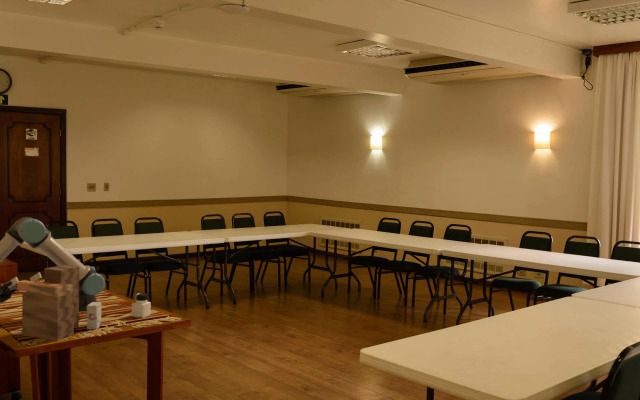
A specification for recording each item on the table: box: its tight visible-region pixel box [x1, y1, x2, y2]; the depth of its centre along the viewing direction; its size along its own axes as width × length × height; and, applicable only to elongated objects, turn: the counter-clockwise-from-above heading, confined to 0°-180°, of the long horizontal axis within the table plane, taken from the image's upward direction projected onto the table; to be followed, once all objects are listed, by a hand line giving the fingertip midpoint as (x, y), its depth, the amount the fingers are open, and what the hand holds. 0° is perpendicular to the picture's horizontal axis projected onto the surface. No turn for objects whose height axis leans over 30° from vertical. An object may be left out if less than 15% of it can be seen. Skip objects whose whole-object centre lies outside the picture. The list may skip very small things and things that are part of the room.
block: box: [17, 279, 64, 292], centre depth 287 cm, size 4×24×4 cm, turn 69°
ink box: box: [86, 301, 102, 330], centre depth 302 cm, size 9×5×12 cm, turn 5°
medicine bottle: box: [131, 292, 152, 319], centre depth 327 cm, size 7×7×12 cm
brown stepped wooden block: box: [21, 265, 80, 342], centre depth 291 cm, size 22×21×30 cm
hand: (29, 277), depth 289 cm, fingers open, 13 cm apart
